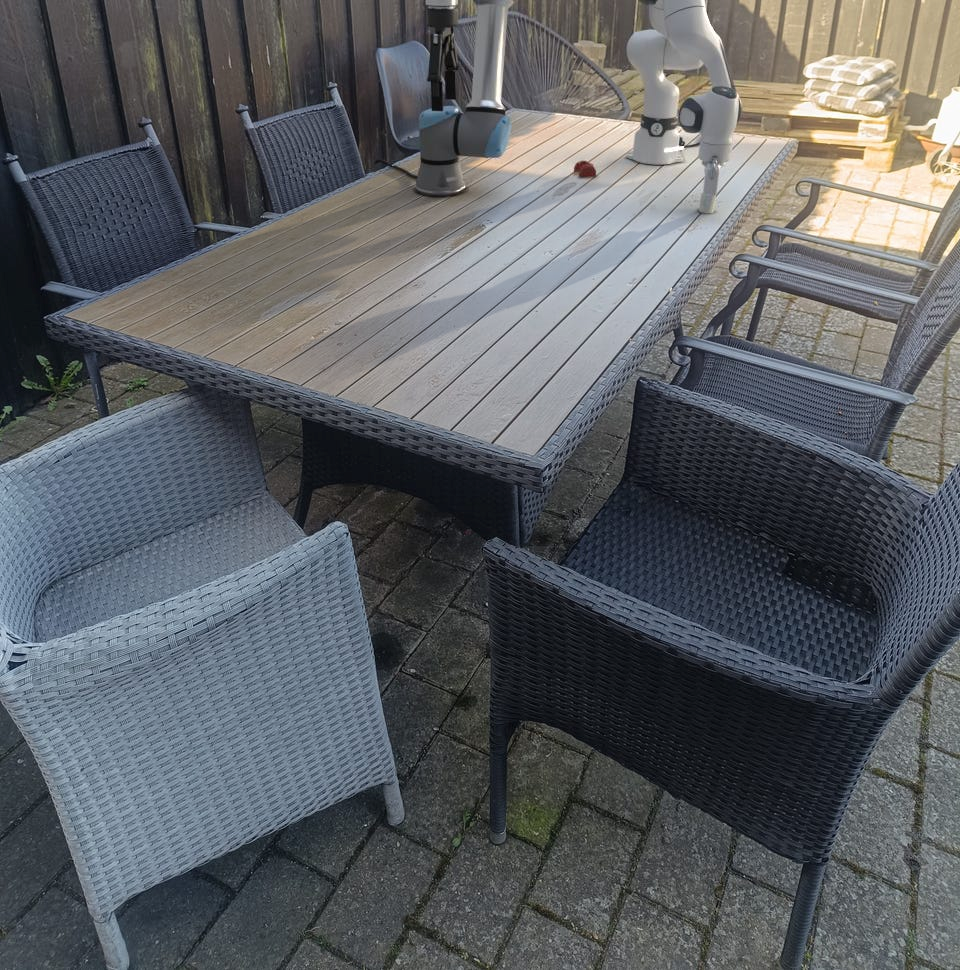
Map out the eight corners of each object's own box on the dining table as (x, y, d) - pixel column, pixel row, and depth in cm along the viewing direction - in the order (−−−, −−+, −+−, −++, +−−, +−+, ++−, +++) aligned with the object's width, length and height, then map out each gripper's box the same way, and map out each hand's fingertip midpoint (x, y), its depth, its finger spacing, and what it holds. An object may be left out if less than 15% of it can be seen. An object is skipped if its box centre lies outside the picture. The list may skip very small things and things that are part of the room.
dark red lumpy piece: (589, 157, 273) (597, 163, 266) (588, 170, 275) (597, 177, 269) (572, 158, 272) (581, 165, 265) (572, 172, 274) (580, 179, 268)
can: (715, 213, 240) (717, 196, 237) (701, 213, 240) (703, 196, 237) (710, 208, 244) (713, 192, 241) (697, 209, 243) (699, 192, 241)
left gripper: (444, 14, 185) (446, 116, 198) (469, 1, 205) (470, 95, 218) (411, 13, 187) (416, 115, 199) (439, 0, 207) (442, 94, 219)
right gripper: (726, 162, 223) (718, 214, 232) (727, 143, 240) (718, 193, 248) (702, 161, 225) (694, 213, 233) (704, 142, 241) (697, 191, 249)
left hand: (444, 105), depth 208 cm, fingers open, 13 cm apart
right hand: (707, 202), depth 240 cm, fingers closed on can, 4 cm apart
